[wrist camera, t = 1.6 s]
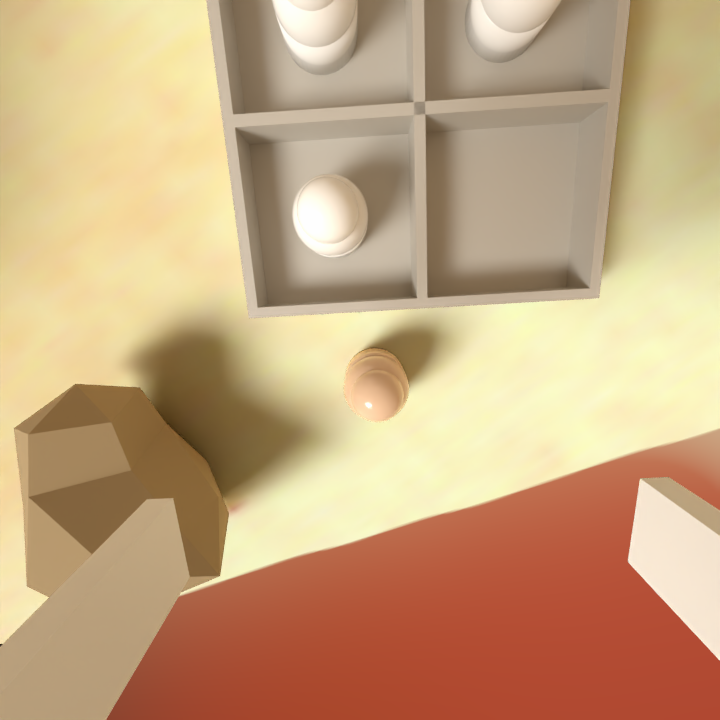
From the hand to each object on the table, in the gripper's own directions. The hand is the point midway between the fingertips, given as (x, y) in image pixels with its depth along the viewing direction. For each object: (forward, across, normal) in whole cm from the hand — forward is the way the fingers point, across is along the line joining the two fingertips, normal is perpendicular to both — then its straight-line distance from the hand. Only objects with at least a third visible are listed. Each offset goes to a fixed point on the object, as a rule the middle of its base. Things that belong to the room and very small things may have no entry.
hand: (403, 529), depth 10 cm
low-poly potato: (+15, -16, -5) cm, 23 cm away
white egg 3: (+15, +8, +21) cm, 27 cm away
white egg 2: (+15, -2, +11) cm, 18 cm away
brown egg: (+15, 0, 0) cm, 15 cm away
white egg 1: (+14, -2, +21) cm, 25 cm away
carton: (+15, +3, +16) cm, 22 cm away
